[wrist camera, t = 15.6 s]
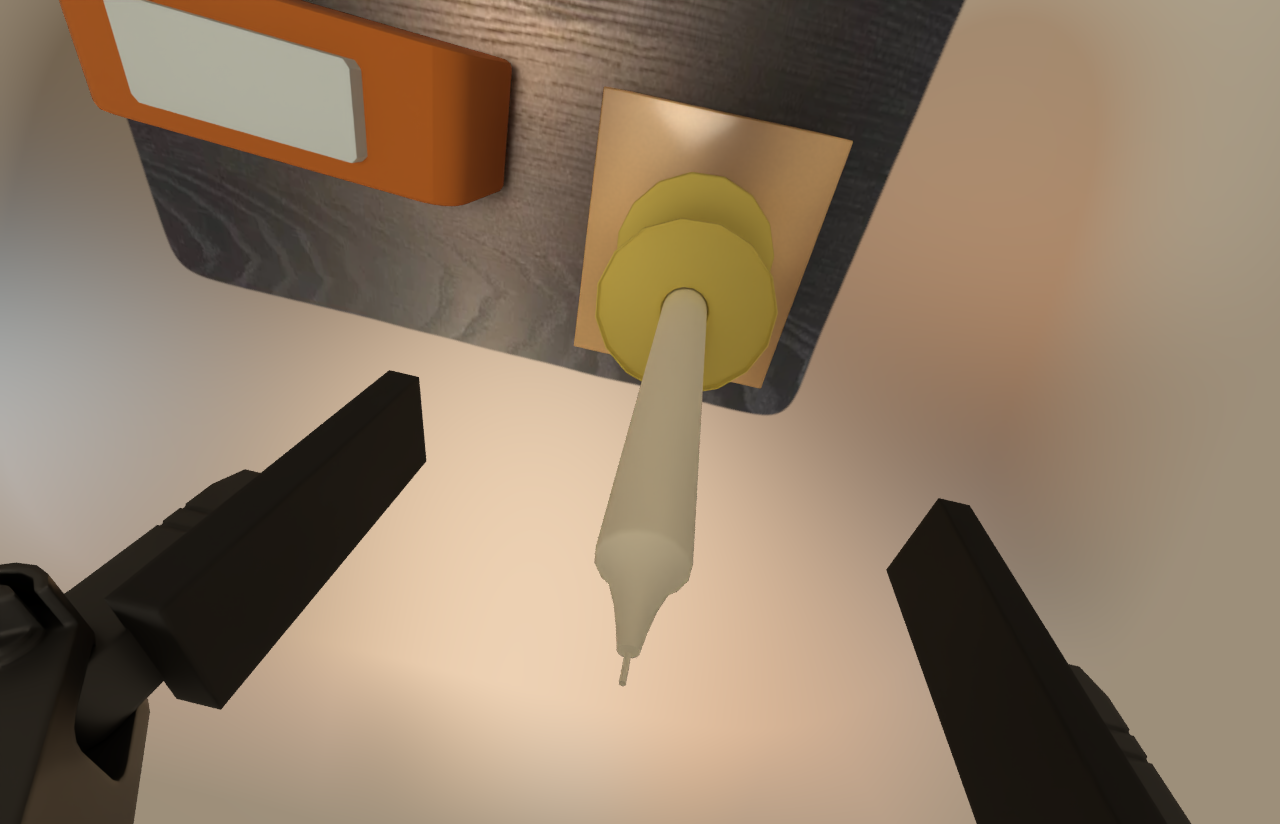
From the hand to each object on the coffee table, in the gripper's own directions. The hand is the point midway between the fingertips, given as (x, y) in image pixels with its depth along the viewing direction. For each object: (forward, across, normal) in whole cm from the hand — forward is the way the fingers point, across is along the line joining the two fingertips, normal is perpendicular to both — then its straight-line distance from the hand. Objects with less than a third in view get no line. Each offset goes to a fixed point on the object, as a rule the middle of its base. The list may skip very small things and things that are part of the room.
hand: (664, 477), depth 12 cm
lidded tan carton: (+31, 0, 0) cm, 31 cm away
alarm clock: (+31, -27, +4) cm, 41 cm away
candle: (+22, 0, 0) cm, 22 cm away
